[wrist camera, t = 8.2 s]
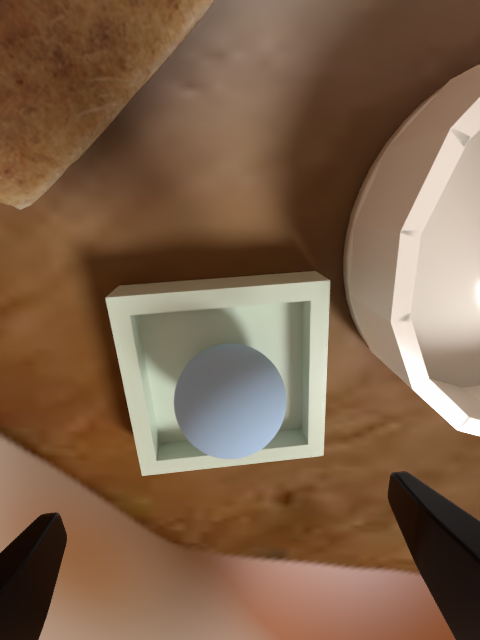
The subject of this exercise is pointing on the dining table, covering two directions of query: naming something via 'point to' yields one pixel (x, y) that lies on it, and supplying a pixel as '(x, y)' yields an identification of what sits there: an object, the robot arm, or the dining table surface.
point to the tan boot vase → (74, 78)
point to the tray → (213, 329)
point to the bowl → (424, 252)
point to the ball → (230, 401)
